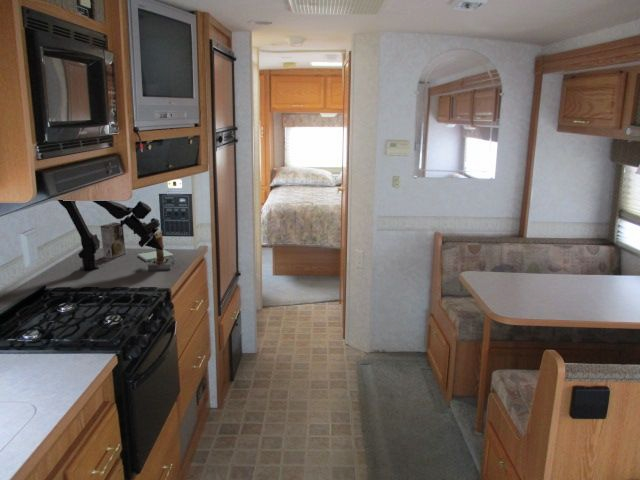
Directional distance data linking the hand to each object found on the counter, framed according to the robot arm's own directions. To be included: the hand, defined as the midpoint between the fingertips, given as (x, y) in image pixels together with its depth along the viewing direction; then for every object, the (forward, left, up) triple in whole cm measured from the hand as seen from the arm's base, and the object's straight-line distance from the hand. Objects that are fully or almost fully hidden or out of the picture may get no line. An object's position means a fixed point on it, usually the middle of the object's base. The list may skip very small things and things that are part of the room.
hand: (162, 248), depth 253 cm
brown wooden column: (-1, -1, -7) cm, 7 cm away
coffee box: (-35, -9, -9) cm, 37 cm away
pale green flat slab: (-18, +5, -9) cm, 20 cm away
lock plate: (-1, -1, -9) cm, 9 cm away
